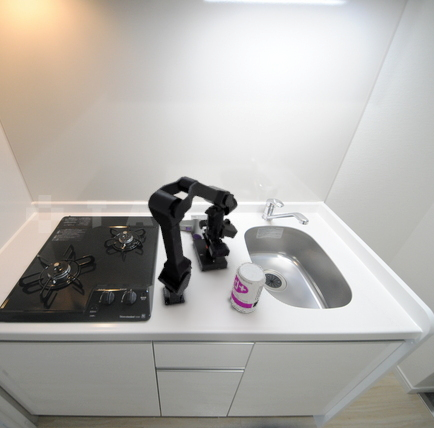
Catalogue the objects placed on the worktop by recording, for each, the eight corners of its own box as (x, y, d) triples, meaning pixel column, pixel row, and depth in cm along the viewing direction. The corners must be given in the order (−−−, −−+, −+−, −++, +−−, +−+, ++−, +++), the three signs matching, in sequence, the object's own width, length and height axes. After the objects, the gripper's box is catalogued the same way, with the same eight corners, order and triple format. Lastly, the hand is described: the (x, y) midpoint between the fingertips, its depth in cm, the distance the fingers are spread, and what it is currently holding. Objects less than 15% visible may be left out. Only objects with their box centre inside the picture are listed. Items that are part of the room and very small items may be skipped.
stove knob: (215, 251, 83) (216, 244, 81) (217, 254, 82) (218, 247, 79) (204, 253, 82) (205, 245, 80) (205, 256, 81) (206, 248, 79)
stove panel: (226, 268, 80) (228, 262, 78) (201, 271, 79) (202, 265, 77) (214, 242, 92) (215, 236, 90) (192, 244, 91) (193, 239, 89)
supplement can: (238, 317, 64) (247, 286, 55) (225, 294, 70) (232, 263, 62) (261, 310, 66) (273, 279, 57) (246, 288, 72) (255, 258, 64)
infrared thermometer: (172, 225, 104) (202, 225, 102) (169, 241, 94) (203, 242, 92) (171, 218, 101) (203, 218, 100) (168, 233, 91) (203, 234, 90)
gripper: (248, 235, 67) (240, 268, 75) (227, 205, 82) (222, 235, 91) (214, 239, 65) (210, 272, 74) (199, 207, 80) (197, 238, 89)
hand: (210, 253), depth 82 cm, fingers closed on stove knob, 2 cm apart
